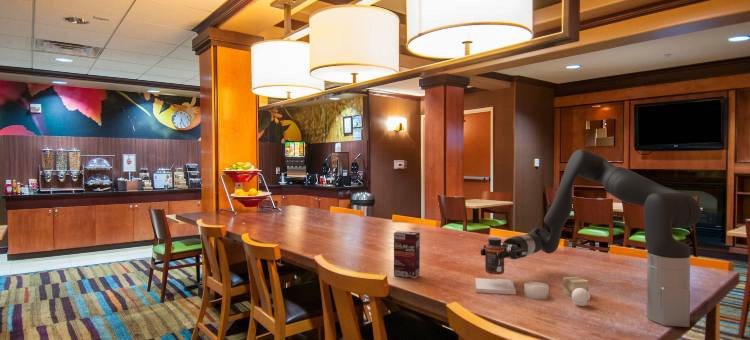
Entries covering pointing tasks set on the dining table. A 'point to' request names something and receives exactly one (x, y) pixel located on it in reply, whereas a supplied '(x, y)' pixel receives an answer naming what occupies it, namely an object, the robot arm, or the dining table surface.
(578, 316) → the dining table surface
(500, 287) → the plate
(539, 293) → the white rounded puck
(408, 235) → the supplement box
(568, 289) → the maple block
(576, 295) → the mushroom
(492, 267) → the supplement bottle
